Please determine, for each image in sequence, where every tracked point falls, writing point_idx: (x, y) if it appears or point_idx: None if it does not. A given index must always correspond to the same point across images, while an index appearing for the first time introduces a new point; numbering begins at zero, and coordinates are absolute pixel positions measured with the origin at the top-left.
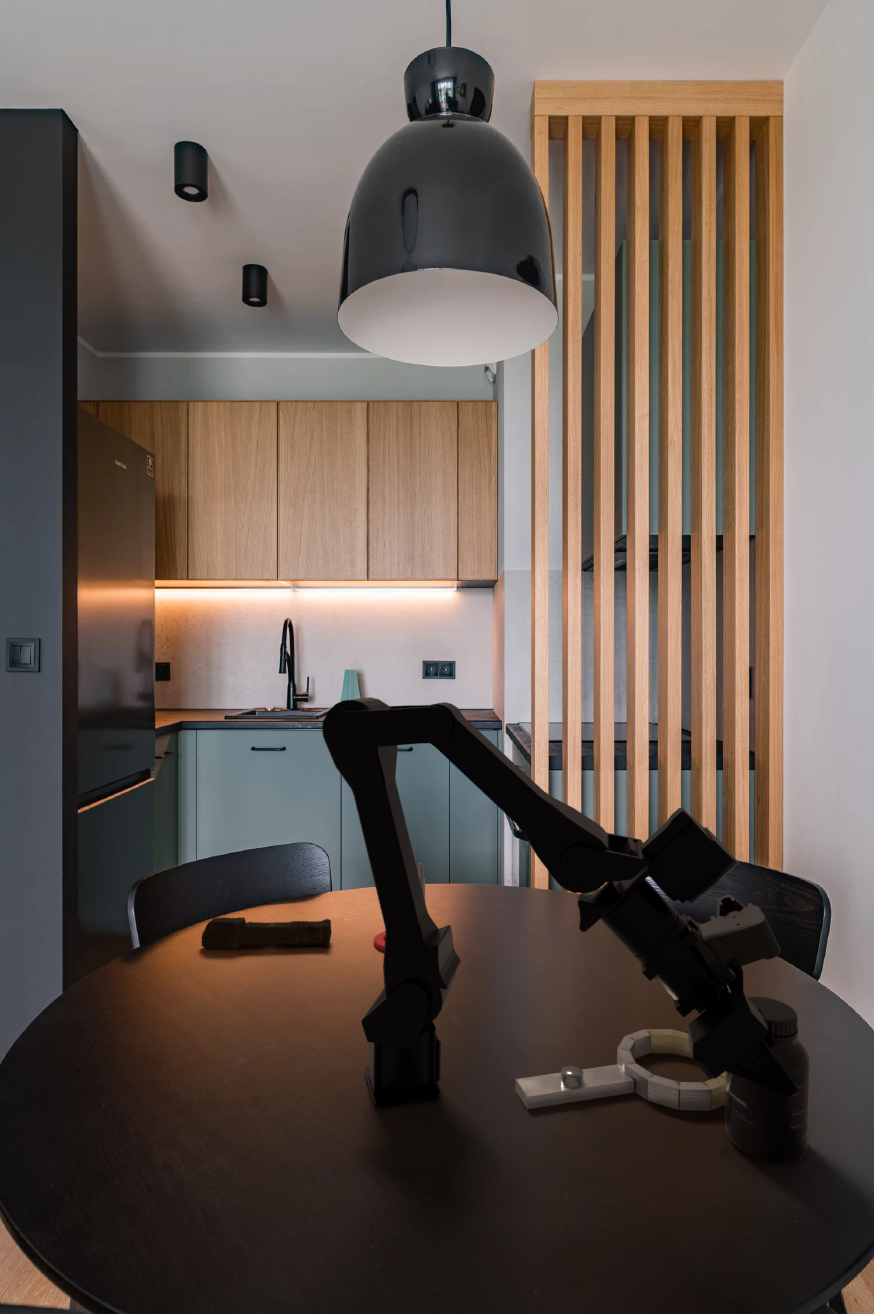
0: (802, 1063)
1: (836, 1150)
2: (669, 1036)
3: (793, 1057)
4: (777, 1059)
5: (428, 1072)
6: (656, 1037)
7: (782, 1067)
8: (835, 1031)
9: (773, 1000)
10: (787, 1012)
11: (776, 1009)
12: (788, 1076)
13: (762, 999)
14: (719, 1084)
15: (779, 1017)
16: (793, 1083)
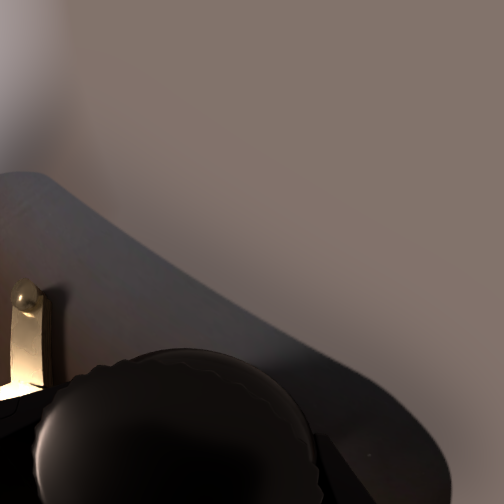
0: (295, 405)
1: (230, 339)
2: None
3: (300, 434)
4: (362, 501)
5: None
6: None
7: (360, 484)
8: (28, 194)
9: (66, 411)
10: (207, 424)
11: (170, 468)
12: (345, 463)
13: (59, 464)
14: None
15: (272, 496)
16: (334, 447)
